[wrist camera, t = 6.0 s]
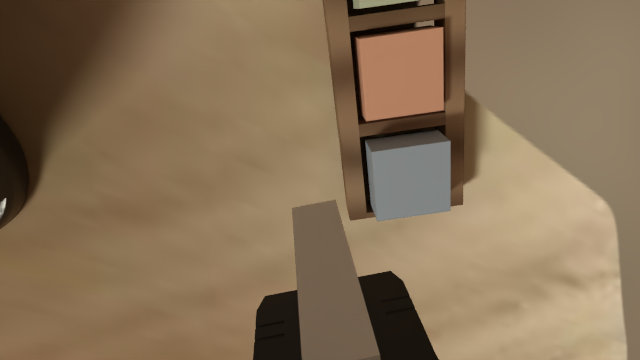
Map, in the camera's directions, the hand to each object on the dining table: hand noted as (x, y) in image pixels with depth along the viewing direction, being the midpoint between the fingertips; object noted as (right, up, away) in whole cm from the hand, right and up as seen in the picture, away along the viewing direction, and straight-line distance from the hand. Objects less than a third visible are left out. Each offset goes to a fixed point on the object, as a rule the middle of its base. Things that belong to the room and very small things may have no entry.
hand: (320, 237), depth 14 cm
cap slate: (+7, +3, +20) cm, 22 cm away
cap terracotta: (+6, +11, +18) cm, 22 cm away
